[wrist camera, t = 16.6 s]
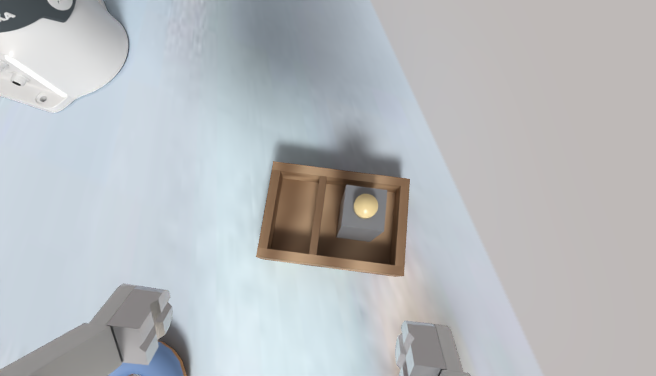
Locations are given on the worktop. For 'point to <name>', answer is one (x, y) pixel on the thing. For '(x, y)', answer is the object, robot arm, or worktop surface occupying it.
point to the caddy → (330, 220)
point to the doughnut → (155, 364)
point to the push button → (362, 213)
